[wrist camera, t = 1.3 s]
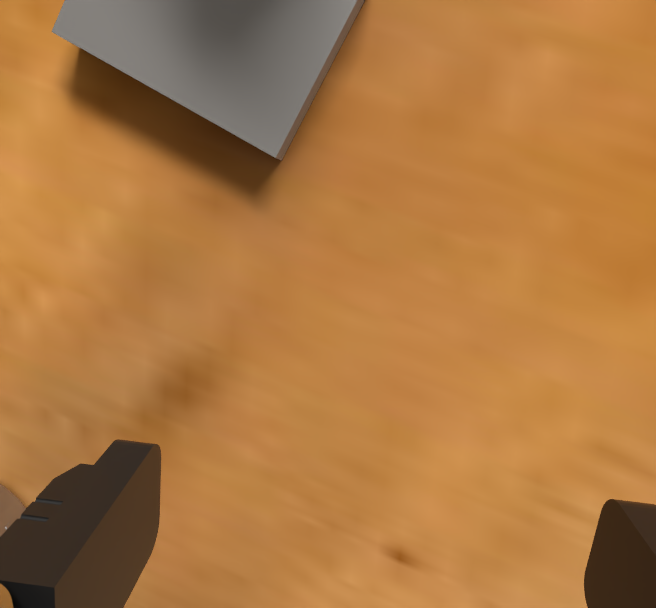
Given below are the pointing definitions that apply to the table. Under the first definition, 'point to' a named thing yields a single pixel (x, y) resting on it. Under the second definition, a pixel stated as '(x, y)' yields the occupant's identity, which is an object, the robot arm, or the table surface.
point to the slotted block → (220, 55)
